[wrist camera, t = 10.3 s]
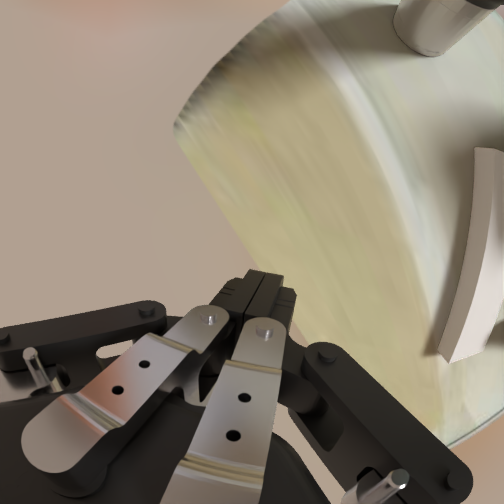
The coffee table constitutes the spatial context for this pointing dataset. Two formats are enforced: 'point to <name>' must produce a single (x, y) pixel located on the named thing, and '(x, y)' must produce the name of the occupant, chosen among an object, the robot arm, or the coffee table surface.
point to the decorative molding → (479, 263)
